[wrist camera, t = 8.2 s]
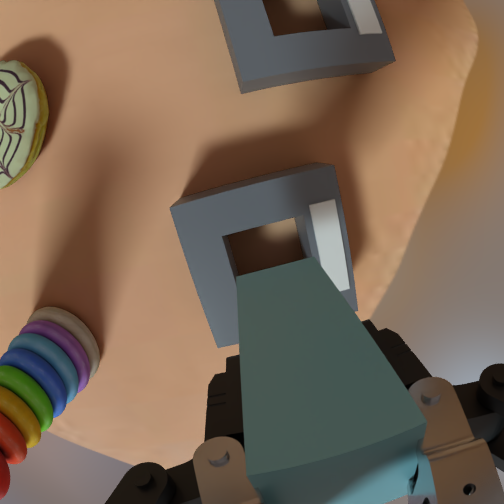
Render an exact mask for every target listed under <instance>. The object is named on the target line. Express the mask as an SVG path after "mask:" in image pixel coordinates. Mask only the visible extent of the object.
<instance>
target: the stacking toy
mask: <svg viewBox="0 0 504 504" xmlns="http://www.w3.org/2000/svg"><path fill="white" fill-rule="evenodd" d="M99 362H100V354H99V349H98V346H97V343H96V340H95V338H94V336H93V335H92V333H91V332H90V330H89V329H88V328H87V327H86V325H85V324H84V323H83V322H82V321H81V320H80V319H78V318H77V317H76V316H75V315H73V314H71V313H70V312H68V311H66V310H63V309H60V308H57V307H44V308H40V309H38V310H36V311H35V312H34V313H33V314H32V315H31V316H30V318H29V319H28V321H27V324H26V325H25V326H24V327H23V328H22V330H21V331H20V333H19V335H18V336H17V337H15V338H14V339H13V340H12V341H11V343H10V345H9V347H8V351H7V352H6V353H4V354H3V356H2V357H1V359H0V500H1V499H2V498H3V497H4V496H5V495H6V493H7V491H8V489H9V485H10V471H9V467H8V464H7V463H10V464H18V463H21V462H22V461H23V460H24V459H25V457H26V454H27V448H31V447H33V446H35V445H36V444H37V443H38V442H39V441H40V438H41V432H43V431H45V430H47V429H48V428H49V427H50V425H51V424H52V421H53V418H55V417H57V416H59V415H60V414H61V413H62V412H63V411H64V409H65V407H66V404H67V403H69V402H71V401H72V400H73V399H74V398H75V396H76V394H77V393H79V392H80V391H82V390H83V389H84V388H85V387H86V385H87V383H88V381H89V379H90V378H92V377H93V376H94V374H95V373H96V371H97V369H98V367H99Z"/></svg>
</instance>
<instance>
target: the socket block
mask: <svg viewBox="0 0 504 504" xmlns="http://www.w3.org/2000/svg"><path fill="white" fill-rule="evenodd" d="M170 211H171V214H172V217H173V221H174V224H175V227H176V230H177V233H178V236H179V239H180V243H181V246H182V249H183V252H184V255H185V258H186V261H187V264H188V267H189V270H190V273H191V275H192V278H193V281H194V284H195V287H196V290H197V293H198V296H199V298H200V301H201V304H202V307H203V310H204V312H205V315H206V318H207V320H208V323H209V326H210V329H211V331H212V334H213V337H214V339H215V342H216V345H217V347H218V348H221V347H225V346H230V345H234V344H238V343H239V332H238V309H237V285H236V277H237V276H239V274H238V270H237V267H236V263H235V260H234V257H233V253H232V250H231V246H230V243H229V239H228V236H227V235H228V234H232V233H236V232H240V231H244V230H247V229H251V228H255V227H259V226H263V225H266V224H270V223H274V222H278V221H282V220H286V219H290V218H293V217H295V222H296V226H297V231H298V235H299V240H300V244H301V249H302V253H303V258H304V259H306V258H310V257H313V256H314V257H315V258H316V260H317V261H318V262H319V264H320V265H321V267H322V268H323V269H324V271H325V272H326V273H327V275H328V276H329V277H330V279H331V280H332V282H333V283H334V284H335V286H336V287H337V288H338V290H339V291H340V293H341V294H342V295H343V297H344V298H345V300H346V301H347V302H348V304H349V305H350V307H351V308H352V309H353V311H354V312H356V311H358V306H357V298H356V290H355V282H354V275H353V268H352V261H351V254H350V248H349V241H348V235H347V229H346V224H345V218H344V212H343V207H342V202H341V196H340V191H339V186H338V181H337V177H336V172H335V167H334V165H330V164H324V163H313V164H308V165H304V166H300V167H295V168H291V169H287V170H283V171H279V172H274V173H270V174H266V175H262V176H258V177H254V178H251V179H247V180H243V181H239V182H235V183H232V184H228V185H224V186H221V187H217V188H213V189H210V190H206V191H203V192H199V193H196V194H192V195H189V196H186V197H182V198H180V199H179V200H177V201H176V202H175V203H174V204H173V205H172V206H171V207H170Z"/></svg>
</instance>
